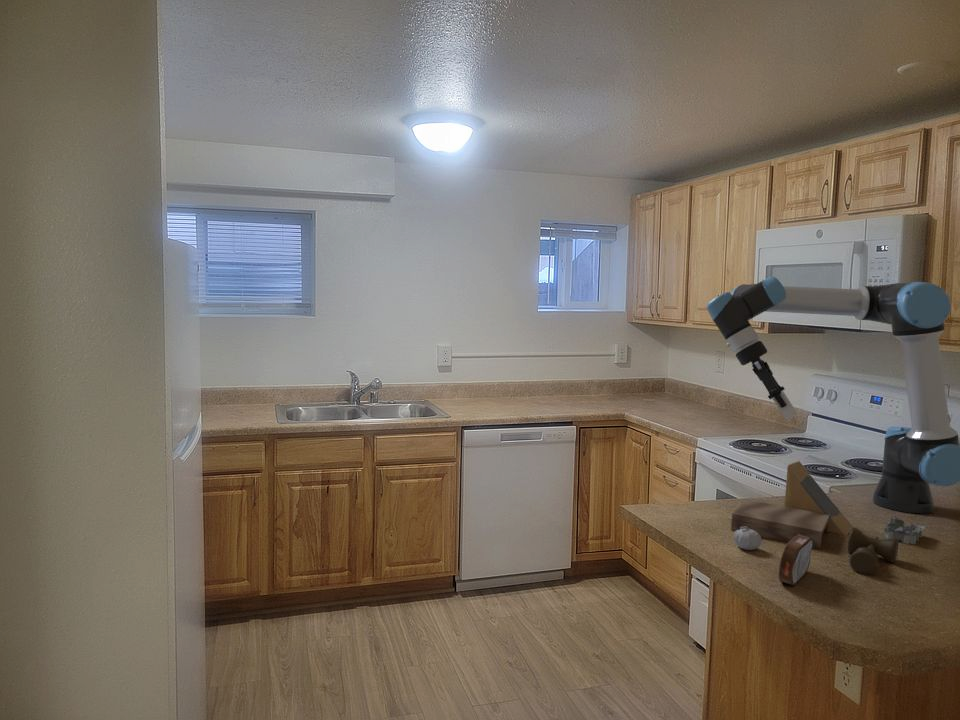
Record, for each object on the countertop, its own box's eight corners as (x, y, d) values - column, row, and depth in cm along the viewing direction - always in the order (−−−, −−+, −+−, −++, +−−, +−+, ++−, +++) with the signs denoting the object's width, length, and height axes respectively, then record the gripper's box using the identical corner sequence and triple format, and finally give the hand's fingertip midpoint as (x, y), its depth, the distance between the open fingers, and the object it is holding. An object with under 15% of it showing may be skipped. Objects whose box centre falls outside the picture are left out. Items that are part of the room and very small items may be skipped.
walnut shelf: (828, 531, 173) (829, 514, 173) (820, 549, 159) (821, 531, 159) (745, 514, 184) (746, 499, 183) (730, 530, 170) (732, 513, 170)
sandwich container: (846, 536, 170) (851, 477, 169) (782, 520, 180) (787, 464, 179) (855, 528, 176) (861, 471, 175) (793, 514, 187) (798, 460, 185)
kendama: (835, 570, 148) (852, 544, 164) (886, 584, 142) (899, 555, 158) (838, 544, 148) (855, 520, 163) (890, 557, 142) (902, 530, 157)
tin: (797, 566, 148) (800, 528, 147) (812, 570, 146) (816, 532, 145) (775, 587, 136) (779, 546, 136) (792, 592, 134) (796, 550, 134)
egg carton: (892, 529, 177) (894, 514, 177) (926, 538, 172) (927, 522, 172) (879, 538, 170) (880, 521, 170) (913, 546, 165) (915, 530, 164)
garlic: (731, 549, 157) (733, 527, 156) (733, 542, 161) (735, 521, 161) (760, 555, 154) (762, 532, 154) (761, 547, 159) (762, 525, 159)
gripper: (737, 354, 197) (779, 419, 192) (730, 353, 174) (777, 427, 170) (762, 340, 194) (804, 406, 190) (758, 338, 171) (806, 412, 167)
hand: (791, 416), depth 180 cm, fingers open, 13 cm apart
